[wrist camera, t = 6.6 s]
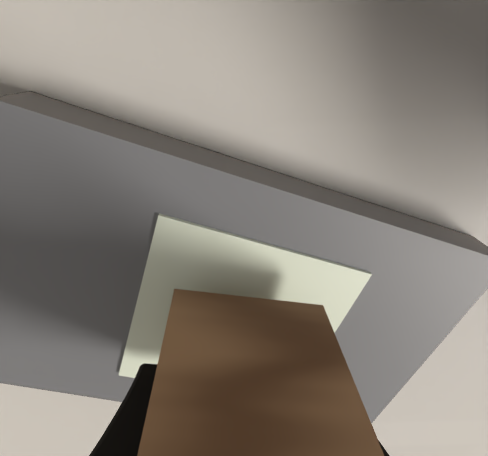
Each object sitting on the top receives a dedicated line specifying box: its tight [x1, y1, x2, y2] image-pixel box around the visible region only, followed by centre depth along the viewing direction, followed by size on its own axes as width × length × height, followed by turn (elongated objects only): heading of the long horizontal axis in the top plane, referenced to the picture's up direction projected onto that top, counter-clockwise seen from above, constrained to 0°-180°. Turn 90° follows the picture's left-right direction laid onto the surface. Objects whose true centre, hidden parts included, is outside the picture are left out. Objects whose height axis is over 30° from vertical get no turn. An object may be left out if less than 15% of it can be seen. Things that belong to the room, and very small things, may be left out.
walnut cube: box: [137, 289, 384, 456], centre depth 9 cm, size 5×5×5 cm
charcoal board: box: [0, 91, 488, 423], centre depth 14 cm, size 18×12×2 cm, turn 71°
